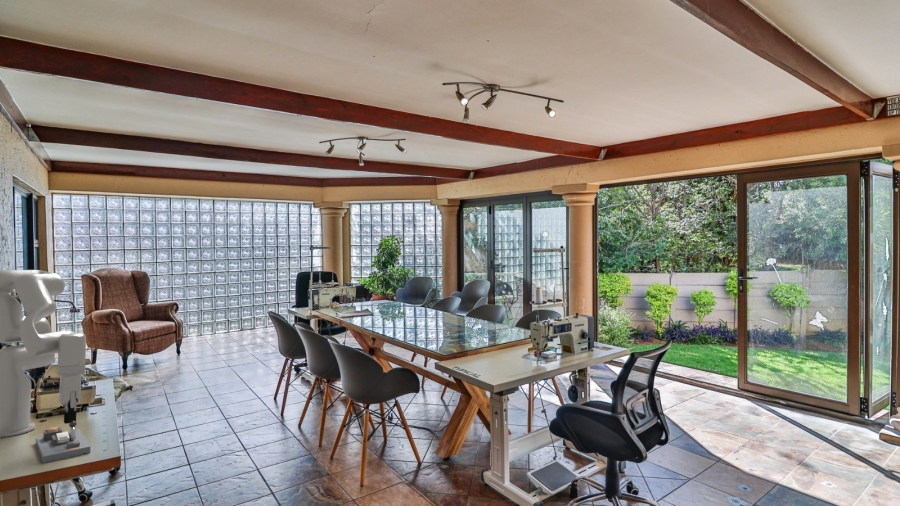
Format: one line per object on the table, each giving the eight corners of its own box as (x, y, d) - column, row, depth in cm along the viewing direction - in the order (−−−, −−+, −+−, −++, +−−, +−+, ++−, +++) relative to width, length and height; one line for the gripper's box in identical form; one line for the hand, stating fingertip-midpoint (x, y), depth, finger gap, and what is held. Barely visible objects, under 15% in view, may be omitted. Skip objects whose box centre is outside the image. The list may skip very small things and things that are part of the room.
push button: (46, 437, 163) (46, 428, 163) (57, 435, 165) (57, 426, 165) (47, 439, 161) (47, 430, 161) (58, 437, 163) (58, 428, 163)
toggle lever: (69, 440, 156) (68, 422, 158) (76, 439, 158) (76, 421, 160) (70, 439, 155) (69, 421, 157) (77, 438, 156) (77, 420, 158)
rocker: (56, 436, 160) (56, 433, 160) (67, 434, 162) (67, 431, 162) (57, 443, 157) (58, 440, 157) (69, 441, 159) (69, 437, 159)
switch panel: (35, 443, 163) (36, 430, 163) (79, 434, 171) (79, 422, 172) (42, 463, 148) (43, 448, 148) (90, 452, 156) (90, 438, 156)
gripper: (54, 367, 165) (53, 419, 165) (60, 375, 155) (58, 430, 155) (81, 364, 171) (80, 414, 170) (88, 371, 160) (87, 425, 160)
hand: (70, 422), depth 162 cm, fingers closed
